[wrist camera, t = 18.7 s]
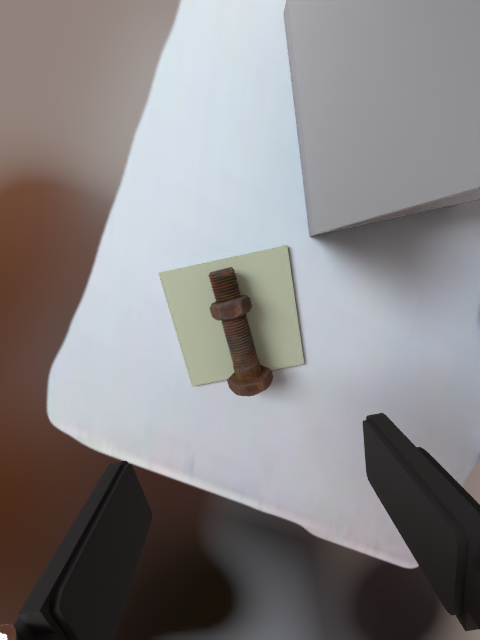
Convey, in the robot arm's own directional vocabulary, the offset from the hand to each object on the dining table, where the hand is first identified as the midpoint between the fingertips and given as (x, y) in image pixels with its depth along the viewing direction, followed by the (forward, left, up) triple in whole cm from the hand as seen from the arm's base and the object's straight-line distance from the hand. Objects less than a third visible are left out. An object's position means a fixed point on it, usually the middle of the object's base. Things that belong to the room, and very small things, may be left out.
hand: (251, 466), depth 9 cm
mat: (0, 0, -22) cm, 22 cm away
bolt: (0, 0, -22) cm, 22 cm away
